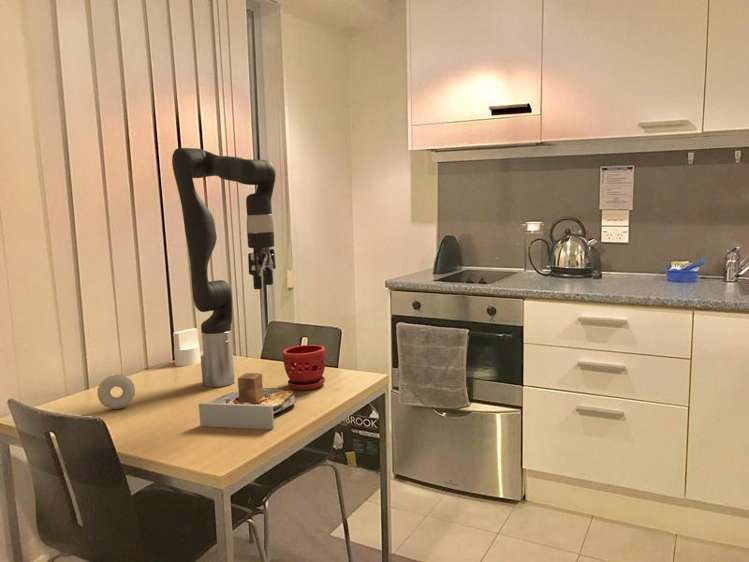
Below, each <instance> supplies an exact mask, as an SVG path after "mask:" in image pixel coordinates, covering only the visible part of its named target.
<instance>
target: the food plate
mask: <svg viewBox="0 0 749 562" xmlns="http://www.w3.org/2000/svg"><path fill="white" fill-rule="evenodd" d="M263 397H265V398H268V400H267V399H265V398H262V399H261V400H259V401H258V402H257V403H260V404H257V403H239V390H238V391H233V392H230V393H226V394H225V395H223V396H220V397H218V398H216V399H213V400H211V401H209V402H208V403H224V404H226V402H230V401H232V400H233V401H232V402H234V403H233V404H251V405H256V404H257V405H273V415H274V414H276V413H278V412H281V411H283V410H285V409H287V408H289V407H290V406H293V405H294V404H296V403H297V398H296V395H295V394H294V391H292V390H291V389H290V390H284V389H281V388H274V387H263ZM227 404H229V403H227Z"/></svg>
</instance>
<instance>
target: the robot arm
mask: <svg viewBox="0 0 749 562" xmlns="http://www.w3.org/2000/svg"><path fill="white" fill-rule="evenodd" d="M171 163H172V164H171V165H172V171H173V175H174V179H175V182H176V187H177V191H178V195H179V200H180V205H181V211H182V218H183V226H184V233H185V238H186V245H187V249H188V255H189V263H190V276H191V291H192V292H191V293H192V299H193V304H194V306H195V308H196V309H197V310H198V311H199V312H202V313H207V312H211V311H212V314H211V315H210V316H209V317H208V318H207V319H205V320H203V322H202V323H201V325H200V332H201V333H200V334H201V343H202V344H201V345H202V354H201V355H200V360H201V362H200V367H201V379H202V380H201V381H202V385H203V386H205V387H210V388H220V387H221V388H222V387H226V386H227V387H228V386H230V385H233V384H234V383H235V381H236V380H235V369H234V368H235V366H234V365H235V364H234V353H233V338H232V322H233V295H232V290H231V286H230V284H229V283H228V282H227V281H226V280H223V279H220V280H218V279H217V280H211V281H209V276H208V275H209V273H208V269H209V262H210V259H211V257H212V254H213V251H214V250H215V246H216V244H217V230H216V224H215V219H214V217H213V214H212V213H211V211H210V209H209V208H208V206H206V204H205V203H204V201H203V200H202V199H201V197H200V196H199V193H198V192H197V190H196V187H195V183H194V179H201V178H202V179H203V178H206V177H207V178H208V177H219V178H220V179H222V180H225V181H230V182H234V183H235V182H237V183H239V184H242V185H248V186H257V188H256V190H255V192H254V193H250V194H248V195H246V199H245V206H246V234H247V235H246V237H247V247H248V248H249V249H253V251H252V252H249V253H248V254H247V260H248V274H249V275H251V276H252V277H253V279H252V281H253V289H254V290H262V289H263V282H262V273H263V270H264V283H265V285H266V286H272V285H274V277H273V272H274V270H276V256H275V255H276V253H275V248H274V249H273V247H275V232H274V231H275V228H274V219H273V213H272V212H273V210H272V208H273V207H272V197H273V192H274V189H275V188H274V187H275V183H276V176H277V175H276V173H277V172H276V168H275V166H274V164H273V163H272V162H271V161H270V160H268V159H251V158H250V159H249V158H247V159H245V158H243V157H237V156H229V155H218V154H215V153H212V152H209V151H207V150H205V149H201V148H192V147H190V148H189V147H178V148H176V149H174V151H173V153H172V158H171Z"/></svg>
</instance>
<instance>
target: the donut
mask: <svg viewBox="0 0 749 562" xmlns="http://www.w3.org/2000/svg"><path fill="white" fill-rule="evenodd" d="M116 387H117V388H120V389H121V390H122V393H121V395H119V396H113V395H112V394H111V390H112V389H113V388H116ZM135 395H136V388H135V384H134V383H133V381H132V380H131V379H130V378H128V377H127V376H125V375H121V374H113V375H110V376H108V377H106V378H105V379H103V380H102V381H101V382H100V384H99V386H98V387H97V397H98V400H99V402H100V403H101V405H102V406H104V407H105V408H108V409H110V410H119V409H122V408H123V409H124V408H125V407H126V406H128V405H130V403H132V401H133V399H134V397H135Z"/></svg>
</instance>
